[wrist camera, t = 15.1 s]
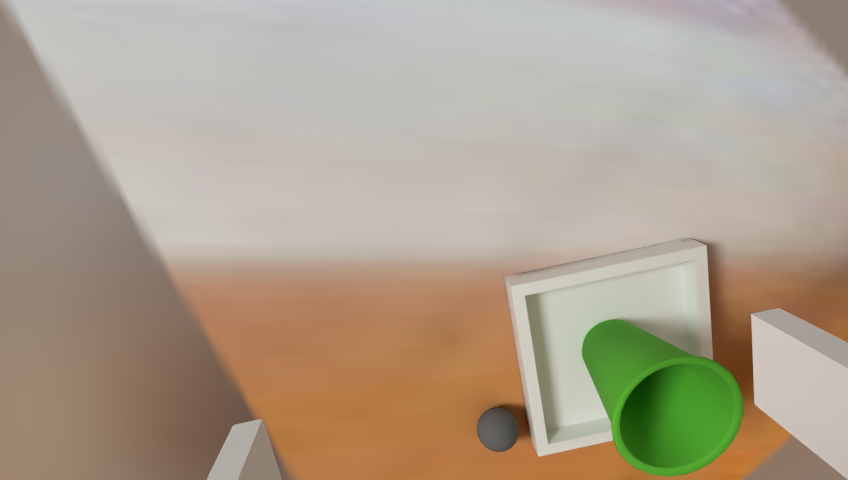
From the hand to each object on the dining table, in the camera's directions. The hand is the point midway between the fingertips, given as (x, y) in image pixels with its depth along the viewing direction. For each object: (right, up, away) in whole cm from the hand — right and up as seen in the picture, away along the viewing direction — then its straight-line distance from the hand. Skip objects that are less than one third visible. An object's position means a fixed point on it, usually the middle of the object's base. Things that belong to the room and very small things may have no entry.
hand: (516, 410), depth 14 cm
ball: (+4, -12, +33) cm, 35 cm away
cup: (+14, -5, +31) cm, 34 cm away
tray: (+14, -5, +32) cm, 35 cm away
